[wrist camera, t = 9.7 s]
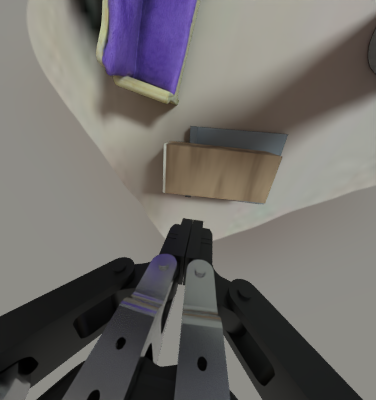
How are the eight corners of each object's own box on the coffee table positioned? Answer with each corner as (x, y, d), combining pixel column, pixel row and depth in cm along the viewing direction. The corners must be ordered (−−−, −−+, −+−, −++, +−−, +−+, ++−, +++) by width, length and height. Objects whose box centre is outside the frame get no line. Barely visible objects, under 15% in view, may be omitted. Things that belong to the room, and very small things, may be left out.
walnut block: (169, 140, 27) (265, 151, 27) (168, 181, 31) (252, 190, 31) (163, 144, 22) (282, 156, 22) (162, 192, 25) (264, 203, 25)
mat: (286, 134, 26) (291, 134, 24) (262, 203, 32) (265, 207, 31) (191, 126, 28) (190, 126, 26) (186, 193, 34) (185, 196, 32)
